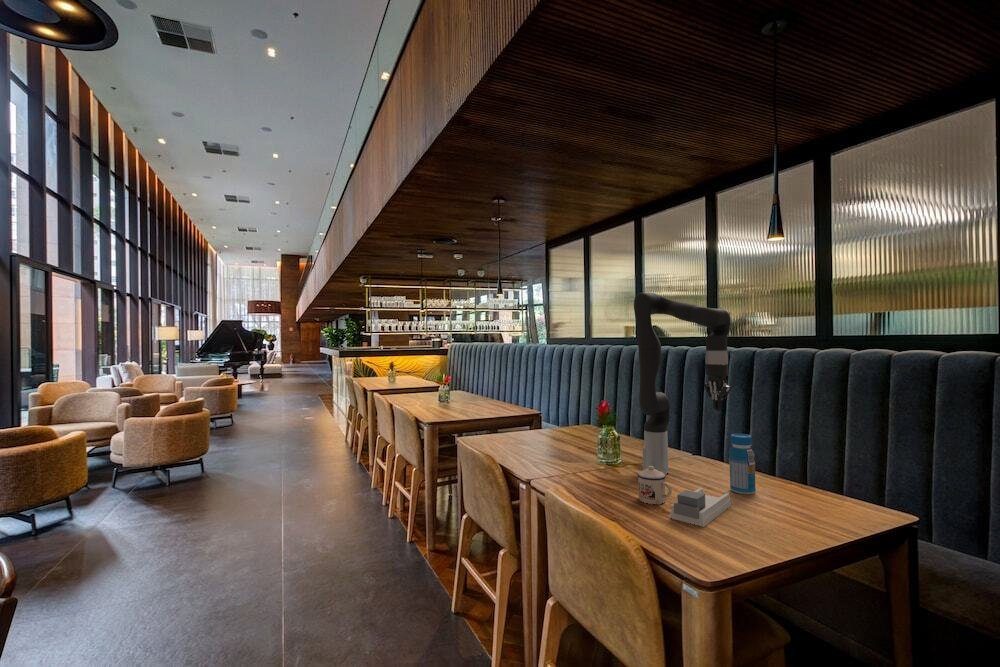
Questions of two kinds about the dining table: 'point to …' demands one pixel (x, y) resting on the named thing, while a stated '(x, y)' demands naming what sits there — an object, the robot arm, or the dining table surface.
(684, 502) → the slider block
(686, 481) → the dining table surface
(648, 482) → the teacup with lid
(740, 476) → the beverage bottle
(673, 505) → the slide rail
